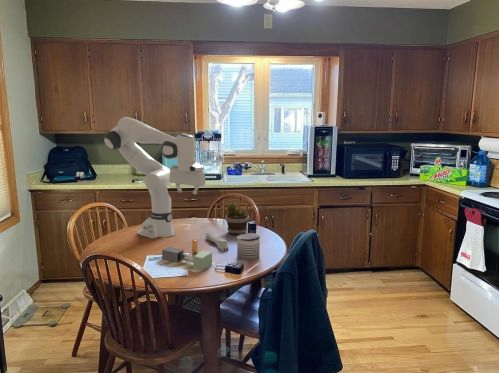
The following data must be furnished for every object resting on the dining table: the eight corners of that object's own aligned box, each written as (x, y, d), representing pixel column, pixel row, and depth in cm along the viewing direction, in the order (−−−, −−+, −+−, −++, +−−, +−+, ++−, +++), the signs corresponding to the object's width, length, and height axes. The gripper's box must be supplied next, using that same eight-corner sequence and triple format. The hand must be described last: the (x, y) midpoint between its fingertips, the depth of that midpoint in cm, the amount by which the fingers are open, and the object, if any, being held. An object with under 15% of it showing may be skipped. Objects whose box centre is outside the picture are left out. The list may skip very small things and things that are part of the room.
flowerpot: (248, 228, 239) (249, 197, 235) (249, 236, 224) (249, 203, 220) (225, 228, 238) (225, 197, 234) (224, 236, 223) (224, 203, 219)
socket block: (193, 268, 175) (193, 256, 174) (203, 262, 182) (203, 250, 181) (202, 270, 172) (202, 258, 171) (212, 264, 179) (211, 252, 178)
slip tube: (176, 259, 182) (175, 237, 180) (179, 257, 185) (179, 236, 183) (203, 266, 175) (203, 243, 173) (207, 263, 178) (207, 241, 175)
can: (242, 263, 183) (242, 240, 181) (233, 255, 194) (233, 233, 191) (263, 260, 188) (263, 237, 186) (254, 252, 198) (254, 230, 196)
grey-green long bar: (212, 231, 220) (230, 238, 198) (213, 242, 221) (230, 251, 198) (204, 232, 218) (220, 240, 196) (204, 244, 218) (221, 252, 196)
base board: (155, 264, 181) (155, 262, 181) (174, 254, 194) (174, 253, 193) (198, 275, 170) (198, 272, 170) (215, 264, 182) (215, 262, 182)
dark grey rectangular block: (162, 259, 185) (162, 249, 184) (169, 256, 189) (168, 246, 188) (177, 262, 181) (177, 253, 180) (183, 259, 185) (183, 249, 184)
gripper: (166, 165, 193) (167, 192, 195) (199, 168, 183) (200, 196, 186) (174, 164, 198) (174, 190, 201) (206, 167, 189) (207, 194, 191)
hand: (187, 193), depth 193 cm, fingers open, 8 cm apart
